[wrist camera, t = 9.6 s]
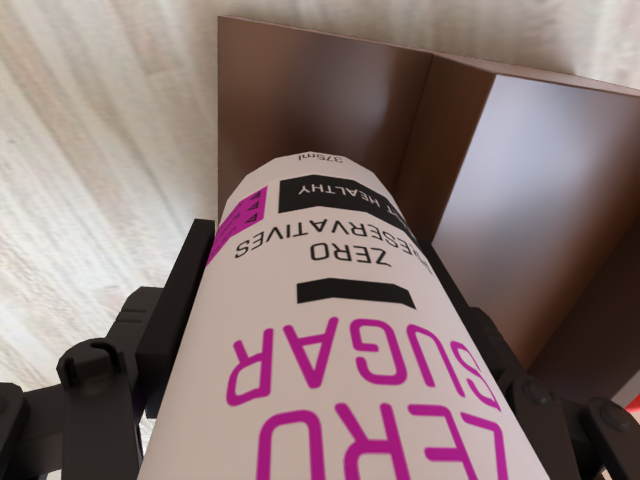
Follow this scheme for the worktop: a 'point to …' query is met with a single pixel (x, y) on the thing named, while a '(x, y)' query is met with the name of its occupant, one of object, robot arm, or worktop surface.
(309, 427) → the supplement can
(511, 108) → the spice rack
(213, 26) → the worktop surface
